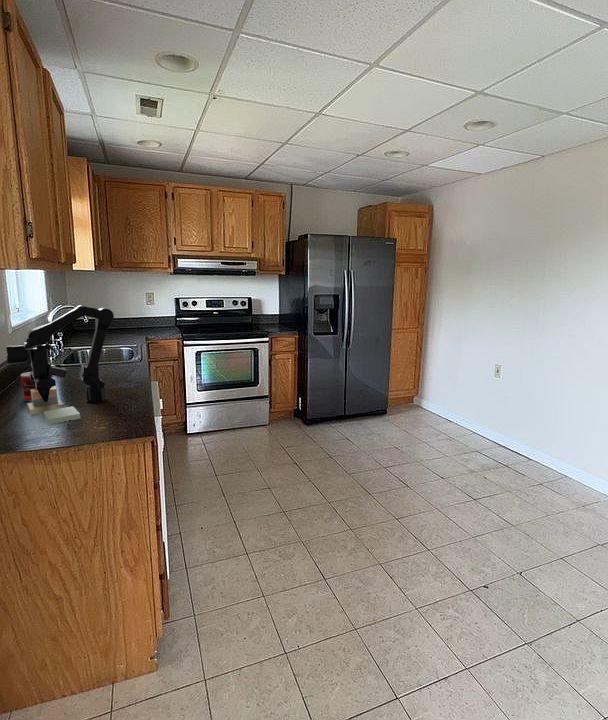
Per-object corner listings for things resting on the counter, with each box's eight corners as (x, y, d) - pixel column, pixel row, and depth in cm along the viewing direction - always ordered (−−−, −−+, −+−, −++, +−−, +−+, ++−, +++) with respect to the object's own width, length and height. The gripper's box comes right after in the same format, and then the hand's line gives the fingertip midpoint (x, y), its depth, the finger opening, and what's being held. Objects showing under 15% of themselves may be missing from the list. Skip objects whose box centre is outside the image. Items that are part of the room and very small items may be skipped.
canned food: (40, 394, 183) (37, 370, 181) (47, 398, 178) (44, 373, 176) (20, 398, 177) (17, 373, 175) (27, 402, 172) (24, 376, 170)
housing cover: (54, 393, 168) (53, 386, 168) (57, 396, 164) (56, 388, 163) (31, 396, 163) (30, 389, 163) (33, 399, 159) (32, 392, 158)
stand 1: (59, 403, 172) (58, 398, 171) (64, 409, 164) (63, 404, 164) (27, 408, 165) (26, 403, 165) (31, 414, 157) (30, 409, 157)
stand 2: (43, 416, 156) (43, 411, 155) (73, 411, 162) (73, 406, 162) (49, 424, 147) (48, 419, 147) (80, 418, 154) (79, 413, 153)
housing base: (55, 400, 169) (54, 393, 168) (58, 403, 165) (57, 396, 164) (32, 404, 164) (31, 396, 163) (34, 407, 160) (33, 399, 159)
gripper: (68, 362, 159) (73, 401, 162) (59, 355, 173) (63, 391, 176) (34, 366, 152) (39, 407, 155) (27, 358, 166) (31, 396, 169)
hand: (44, 400), depth 164 cm, fingers closed on housing base, housing cover, 5 cm apart
